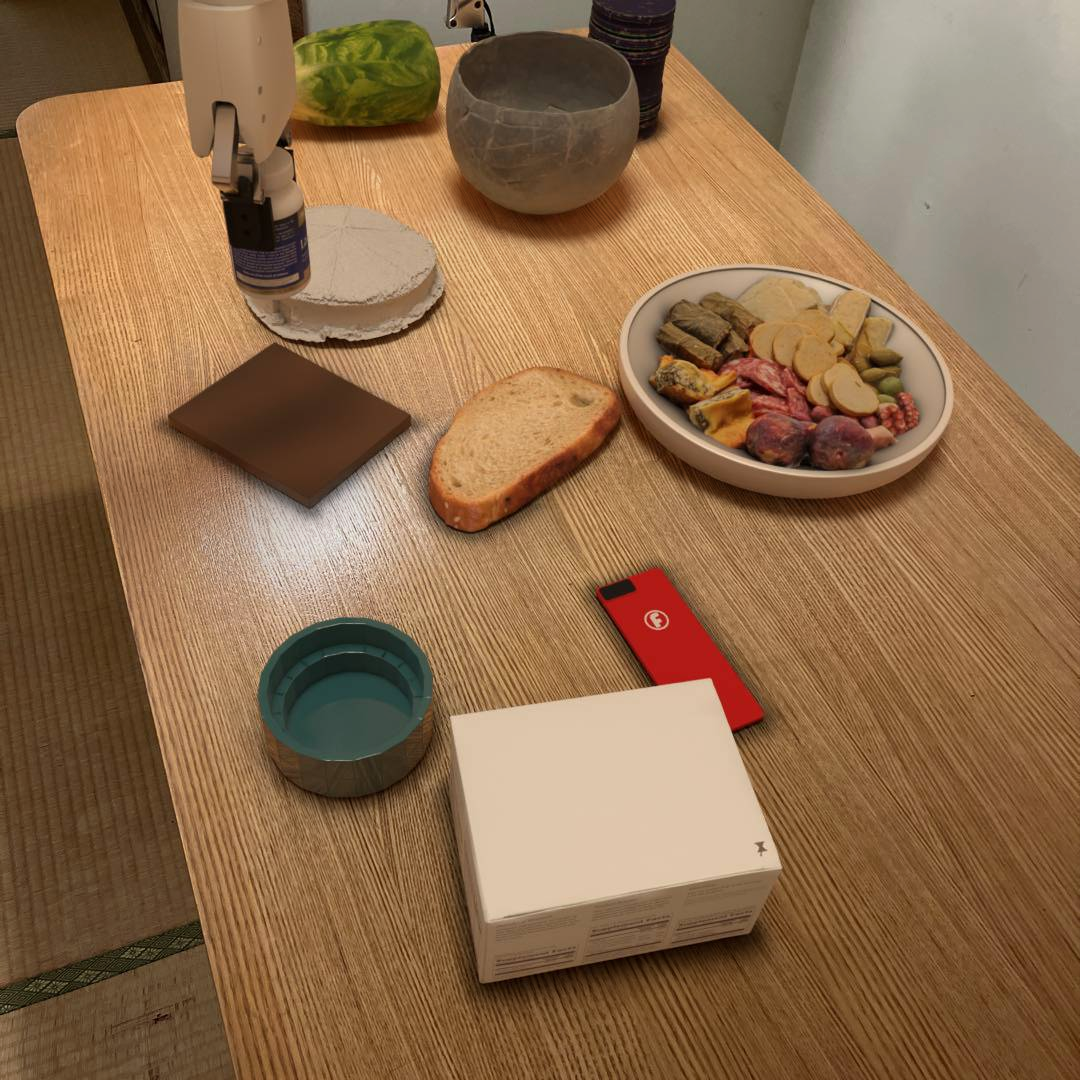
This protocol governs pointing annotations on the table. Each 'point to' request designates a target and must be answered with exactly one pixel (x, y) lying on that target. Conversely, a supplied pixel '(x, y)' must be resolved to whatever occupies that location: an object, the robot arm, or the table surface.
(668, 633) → the electronic device
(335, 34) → the lettuce
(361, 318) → the grey pie
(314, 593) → the table surface
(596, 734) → the supplement box
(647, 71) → the dark purple ridged cylinder
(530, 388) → the bread slice
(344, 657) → the teal bowl
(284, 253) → the pill bottle
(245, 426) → the walnut board
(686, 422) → the bowl
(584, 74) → the bowl
